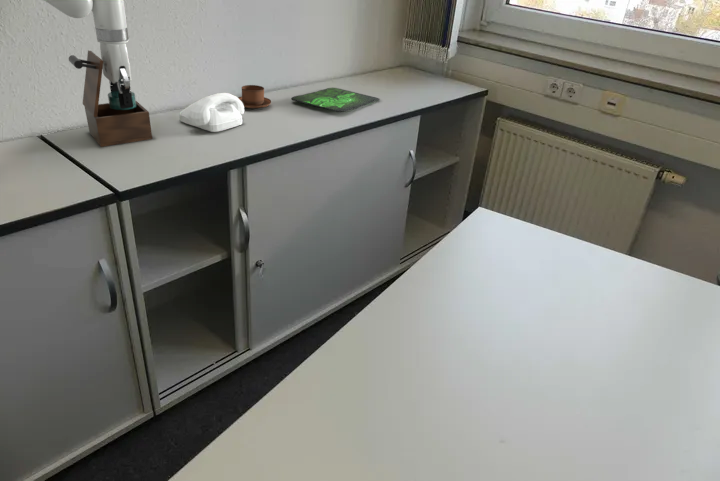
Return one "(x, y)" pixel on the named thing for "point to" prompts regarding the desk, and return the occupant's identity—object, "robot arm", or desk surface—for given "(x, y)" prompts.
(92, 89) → the lid
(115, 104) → the teal short cylinder
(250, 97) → the cup and saucer
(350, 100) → the mouse mat
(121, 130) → the box
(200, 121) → the telephone
